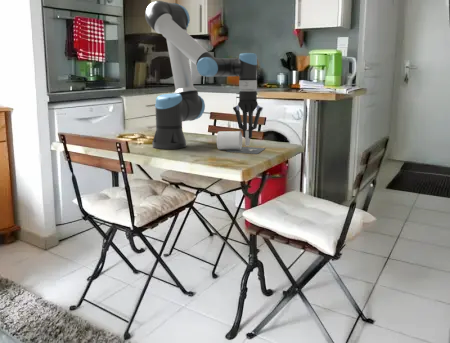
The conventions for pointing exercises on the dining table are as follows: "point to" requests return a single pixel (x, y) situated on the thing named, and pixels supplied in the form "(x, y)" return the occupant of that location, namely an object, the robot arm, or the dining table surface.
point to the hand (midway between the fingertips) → (247, 145)
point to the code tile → (248, 150)
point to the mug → (229, 140)
